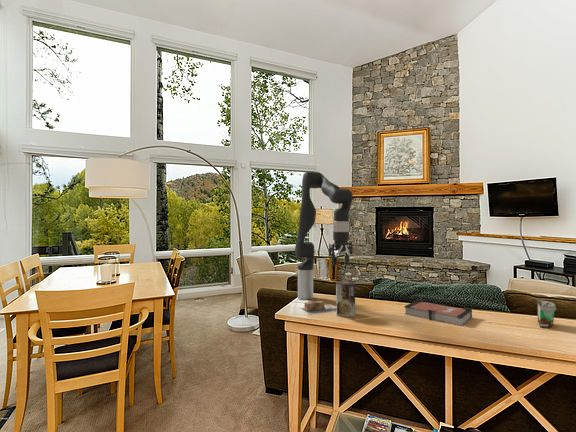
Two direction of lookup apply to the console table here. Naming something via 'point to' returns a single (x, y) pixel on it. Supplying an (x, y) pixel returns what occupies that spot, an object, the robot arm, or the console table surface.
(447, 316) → the book
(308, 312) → the slate mat
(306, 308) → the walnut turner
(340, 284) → the coffee box
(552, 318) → the food container
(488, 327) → the console table surface
